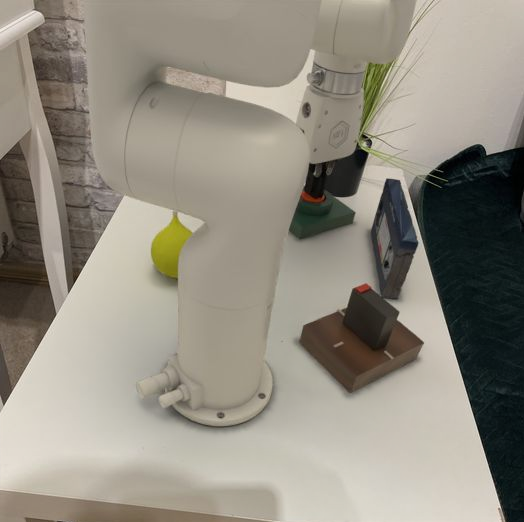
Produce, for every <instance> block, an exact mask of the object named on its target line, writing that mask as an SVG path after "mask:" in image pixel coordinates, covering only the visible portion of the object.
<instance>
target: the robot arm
mask: <svg viewBox="0 0 524 522" xmlns="http://www.w3.org/2000/svg"><path fill="white" fill-rule="evenodd" d="M416 5H417V0H83V20H84V22H83V23H84V39H85V41H84V42H85V61H86V77H87V94H88V95H87V96H88V110H89V111H88V114H89V115H88V117H89V128H90V131H89V132H90V142H91V143H90V144H91V150H92V156H93V160H94V165H95V167H96V170H97V172H98V174H99V176H100V178H101V180H102V181H103V182H104V183H105V185H107V187H108V188H110V189H111V190H113V191H114V192H116V193H118V194H120V195H123V196H125V197H128V198H130V199H134V200H137V201H140V202H143V203H147V204H150V205H154V206H157V207H160V208H164V209H167V210H170V211H178V213H181V214H183V215H186V216H190V217H192V218H195V219H198V220H200V221H202V222H203V223H202V225H200V226H199V227H197V229H196V230H195V231H194V232H193V234H192V235H191V236H190V237H189V238H188V240H187V241H186V242H185V244H184V246H183V248H182V250H181V252H180V256H179V261H178V278H177V352H176V353H175V354H172V355H170V356H169V357H168V363H167V365H166V367H165V368H162V369H161V371H160V373H159V374H157V375H154V376H148V377H146V378H143V379H141V380H139V381H137V382H136V383H135V387H136V390H137V393H138V395H139V396H140V398H141V399H142V400H144V399H147V398H150V397H151V396H153V395H156V394H159V393H160V392H161V391H164V393H163V394H161V395H158V397H157V399H158V403H159V405H160V407H161V408H162V409H166V408H168V407H170V406H172V408H174V410H175V411H177V412H178V413H179V414H180V415H181V416H183V417H185V418H186V419H188V420H191V421H192V422H194V423H195V422H196V423H198V424H200V425H206V426H211V427H229V426H235V425H238V424H241V423H242V424H243V423H245V422H248V421H249V420H251V419H253V418H255V417H256V416H257V415H259V414H260V413H261V412H262V411H263V410H264V409H265V408H266V406H267V405H268V404H269V401H270V399H271V395H272V392H273V384H274V381H273V374H272V372H271V369H270V367H269V365H268V364H267V363H266V361H265V354H266V348H267V342H268V336H269V331H270V326H271V320H272V319H271V318H272V313H273V307H274V303H275V302H274V301H275V297H276V290H277V285H278V280H279V274H280V268H281V264H282V258H283V253H284V250H285V245H286V241H287V237H288V234H289V232H290V231H289V227H290V224H291V221H292V219H293V216H294V213H295V210H296V207H297V204H298V202H299V199H300V196H301V193H302V190H303V187H304V186H305V187H304V191H305V192H306V193H307V194H309V195H310V196H311V197H313V198H314V199H317V198H318V197H319V198H321V197H323V195H324V190H326V186H327V180H328V176H329V175H331V173H332V172H333V170H334V166H335V165H336V164H337V163H338V161H340V160H342V159H344V158H346V157H349V156H352V154H354V152H356V148H357V144H358V140H359V136H360V131H361V125H362V121H363V113H364V105H365V104H364V99H365V95H364V94H365V90H364V89H363V88H362V86H363V82H364V79H365V75H366V70H367V66H368V63H371V64H375V65H376V64H377V65H386V64H389V63H392V62H393V61H394V60H396V59H397V58H398V56H400V54H401V53H402V51H403V49H404V47H405V46H406V43H407V40H408V37H409V35H410V31H411V27H412V23H413V19H414V15H415V14H414V13H415V9H416ZM311 50H312V51H314V55H313V61H312V66H311V71H310V72H308V73H307V75H306V81H307V83H308V86H306V87H305V89H304V93H303V95H302V99H301V102H300V106H299V109H298V113H297V118H296V121H293V120H292V119H291V118H289V117H287V116H286V115H284V114H282V113H281V112H278V111H276V110H274V109H272V108H268V107H265V106H262V105H259V104H256V103H252V102H248V101H244V100H241V99H237V98H233V97H230V96H229V97H228V96H224V95H221V94H217V93H213V92H204V91H199V90H195V89H192V88H187V87H182V86H179V85H175V84H171V83H167V74H168V68H172V69H176V70H180V71H184V72H188V73H192V74H195V75H200V76H203V77H204V76H205V77H208V78H212V79H217V80H221V81H225V82H231V83H233V84H234V83H235V84H238V85H244V86H249V87H257V88H267V89H269V88H280V87H284V86H287V85H290V83H292V82H294V80H296V79H297V78H298V77H299V75H300V74H301V72H302V71H303V70H304V67H305V66H306V64H307V61H308V58H309V56H310V52H311Z"/></svg>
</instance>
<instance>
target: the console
mask: <svg viewBox="0 0 524 522" xmlns="http://www.w3.org/2000/svg"><path fill="white" fill-rule="evenodd" d="M346 309H347V307H345V308H342V309H340V308H338V309H336V311H335V312H332V313H329V314H327V315H325V316H322V317H320V318H318V319H315V320H313V321H310V322H308V323H306V324H303V326H302V330H301V334H300V338H299V343H300V344H301V345H302V346H303V347H304V348H305V349H306V350H307V352H309V353H310V354H311V355H312V356H313V358H315V360H317V361H318V362H319V363H320V364H321V365H322V367H324V369H326V370H327V371H328V372H329V373H330V374H331V376H333V378H334V379H336V381H337V382H338V383H340V385H342V386H343V388H344V389H345V390H347V392H348V393H349V394H351V393H353V392H355V391H357V390H358V389H360V388H363V387H365V386H366V385H368V384H371V383H372V382H374V381H376V380H378V379H380V378H381V377H384V376H386V375H387V374H390V373H392V372H393V371H396V370H398V369H399V368H401V367H403V366H405V365H407V364H409V363H411V362H413V361H414V360H416V359H417V358H418V357H419V355H420V352H421V350H422V348H423V346H424V343H425V341H423V340H422V339H421V338H420V337H419V336H417V335H416V334H415V333H414V332H413V331H411V330H410V329H409V328H408V327H407V326H406V325H404V324H403V323H402V322H401V321H400V320H398V319H397V320H396V323H395V325H394V328H393V330H392V333H391V335H390V338H389V340H388V343H387V345H386V346H384V347H382V348H379V349H377V350H375V351H374V350H373V349H371V348H370V347H369V346H368V345H367V344H366V343H365V342H364V341H363V340H362V339H361V338H360V337H358V336H357V335H356V334H355V333H354V332H353V331H352V330H351V329H350V328H349V327H348V326H347V325H345V324H344V323H343V319H344V315H345V312H346Z"/></svg>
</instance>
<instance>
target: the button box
mask: <svg viewBox="0 0 524 522" xmlns="http://www.w3.org/2000/svg"><path fill="white" fill-rule="evenodd" d="M304 187H305V185H304ZM304 187H303V190H304ZM303 190H302V191H303ZM324 196H325V198H324V202H321V203H311V202H308V201H305V200H303V199H302V198H301V196H300V199H299V202H298V204H297V207H296V210H295V213H294V216H293V219H292V221H291V224H290V227H289V231H288V232H290V233H291V234H292V235H293V236H295V238H297V239H298V240H302V239H306V238H309V237H312V236H315V235H319V234H322V233H325V232H329V231H331V230H335V229H338V228H341V227H344V226H348V225H351V224H353V223H354V219H355V217H356V211H355V210H353V208H350V207H349V206H348V205H347V204H345V203H344V202H342V201H341V200H339V198H337V197H336V196H334V195H332V194H331V193H330V192H329V191H328V190H326V189H325V190H324Z"/></svg>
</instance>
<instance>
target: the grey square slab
mask: <svg viewBox="0 0 524 522" xmlns="http://www.w3.org/2000/svg"><path fill="white" fill-rule="evenodd" d="M347 302H348V303H347V306H346V308H347V309H346V312H345V315H344V319H343V323H344V324H345V325H347V326H348V327H349V328H350V329H351V330H352V331H353V332H354V333H355V334H356V335H357V336H358V337H360V338H361V339H362V340H363V341H364V342H365V343H366V344H367V345H368V346H369V347H370V348H371V349H373V350H374V351H375V350H377V349H379V348H382V347H384V346H386V345H387V343H388V340H389V338H390V335H391V333H392V330H393V328H394V325H395V323H396V320H398V317H399V315H400V313H401V312H400V311H399V310H398V308H396V307H395V306H393V305H392V304H391V303H390V302H388V301H387V300H386V299H385V297H382V296H381V294H379V293H378V292H376V291H375V290H374V289H373V288H372V286H371V285H369V284H368V283H367V282H366V283H363V284H360V285H358V286H355V287H353V288H352V289H351V293H350V295H349V299H348V301H347Z"/></svg>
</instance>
